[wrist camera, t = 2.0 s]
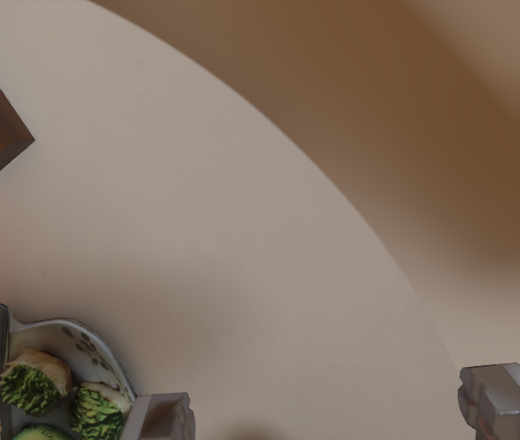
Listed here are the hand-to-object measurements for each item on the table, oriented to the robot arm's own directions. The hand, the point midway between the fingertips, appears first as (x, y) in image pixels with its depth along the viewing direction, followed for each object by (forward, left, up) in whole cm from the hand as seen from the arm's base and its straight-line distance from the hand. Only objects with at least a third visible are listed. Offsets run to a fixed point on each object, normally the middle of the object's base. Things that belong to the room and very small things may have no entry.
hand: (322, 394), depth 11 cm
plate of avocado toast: (+31, +2, -18) cm, 36 cm away
